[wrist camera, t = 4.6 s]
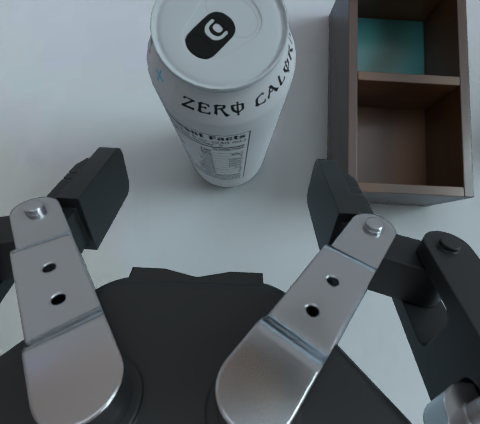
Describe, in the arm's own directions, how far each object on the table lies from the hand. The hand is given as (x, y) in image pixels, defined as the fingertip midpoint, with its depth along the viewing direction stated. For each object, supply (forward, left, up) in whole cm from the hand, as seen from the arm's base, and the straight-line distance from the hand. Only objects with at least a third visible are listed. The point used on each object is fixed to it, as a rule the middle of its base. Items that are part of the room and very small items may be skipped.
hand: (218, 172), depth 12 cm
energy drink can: (0, +5, -12) cm, 13 cm away
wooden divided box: (+13, +10, -12) cm, 20 cm away
